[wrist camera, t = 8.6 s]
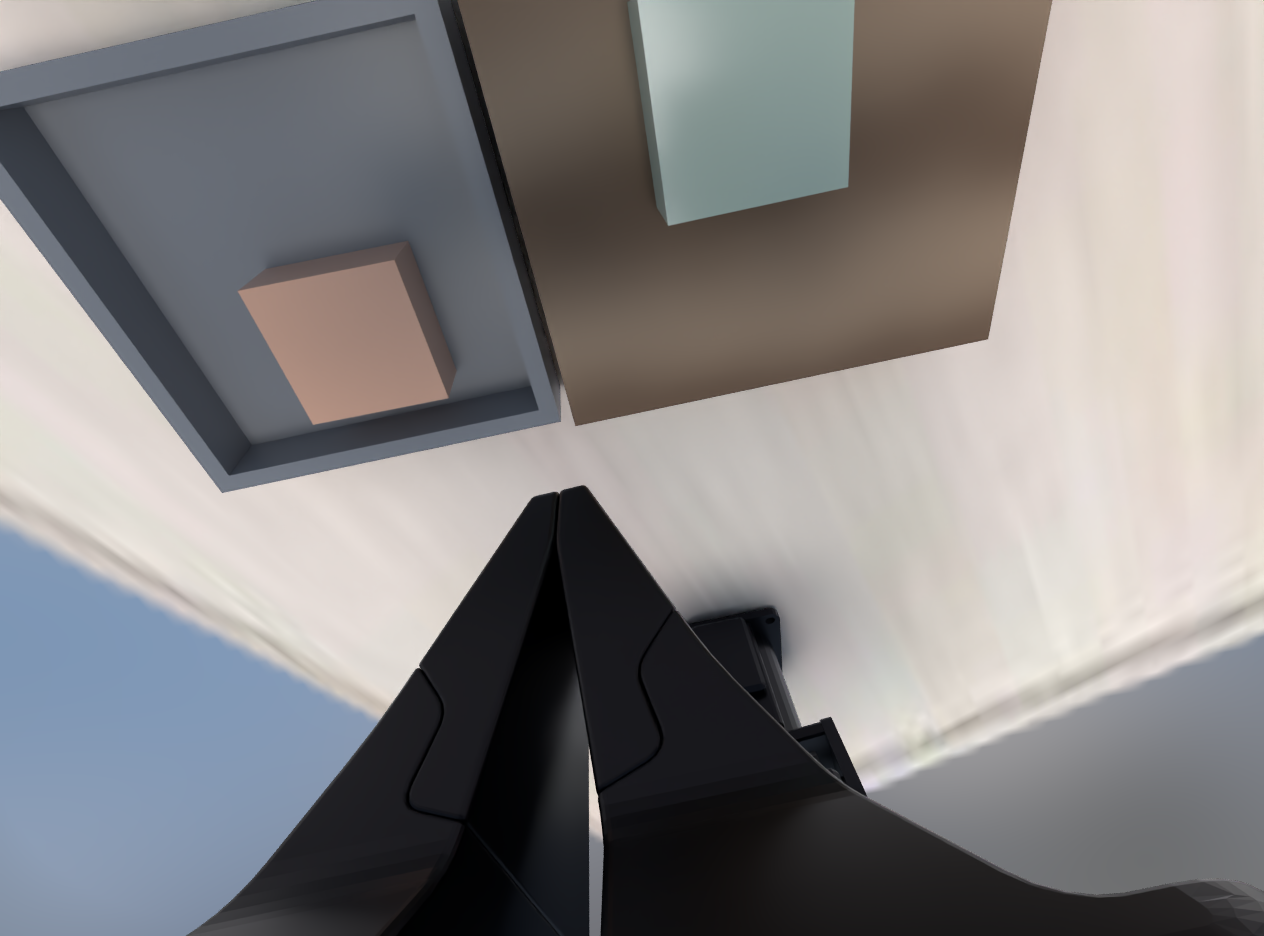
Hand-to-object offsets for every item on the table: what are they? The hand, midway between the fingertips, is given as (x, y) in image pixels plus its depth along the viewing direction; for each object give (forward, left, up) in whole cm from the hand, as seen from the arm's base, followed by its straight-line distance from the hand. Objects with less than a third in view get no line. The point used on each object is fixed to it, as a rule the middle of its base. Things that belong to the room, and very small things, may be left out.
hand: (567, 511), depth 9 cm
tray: (+1, +7, -13) cm, 15 cm away
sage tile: (+4, -5, -10) cm, 12 cm away
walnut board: (+1, -6, -13) cm, 15 cm away
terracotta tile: (-1, +7, -10) cm, 12 cm away
